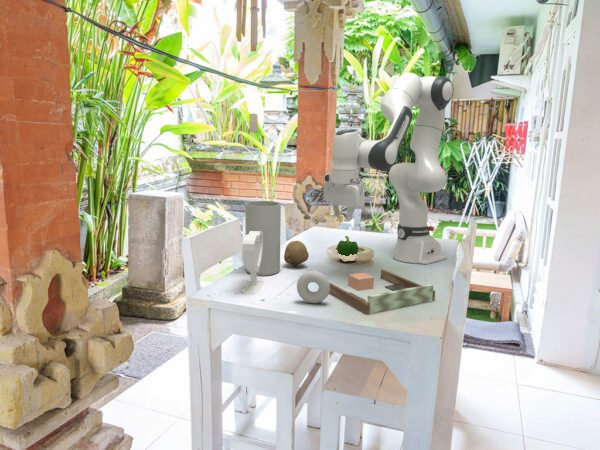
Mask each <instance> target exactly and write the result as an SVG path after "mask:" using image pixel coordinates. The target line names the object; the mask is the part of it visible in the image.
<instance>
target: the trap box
mask: <svg viewBox="0 0 600 450" xmlns="http://www.w3.org/2000/svg"><path fill="white" fill-rule="evenodd" d="M380 279H382V280H384V281H386V282H388V283H391V284H390V285H389V284H388V285H384V288H385V289H388V290H390V291H388V292H382V293H376V294H371V295H367V300H366V299H365V298H364V299H363V298H362V297H360V296H358V295H357V294H355V293H353V292H348V291H347V290H345V289H342V288H341V287H339V286H338V285H335V284H334V283H331V282H330V281H329V284H330V291H329V294H330V295H332V296H333V297H335V298H336V299H338V300H339V301H341V302H344V303H345V304H347V305H349V306H351V307H353V308H354V309H356V310H358V311H360V312H362V313H363V314H364V315H371V314H372V315H373V314H376V313H380V312H381V313H382V312H385V311H390V310H395V309H400V308H403V307H409V305H410V306H414V305H413V304H415V305H418V304H417V303H419V304H423V303H422V302H424V303H427V302H426V301H429V302H431V301H430V300H434V301H436V300H435V299H436V290H434V284H431V283H430V284H429V283H428V284H424V285H421V284H419V283H416V282H415V281H412V280H410V279H406V278H405V277H402V276H400V275H397V274H395V273H392V272H390V271H387V270H385V269H381V270H380ZM329 294H328V295H329Z"/></svg>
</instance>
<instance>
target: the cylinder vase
mask: <svg viewBox="0 0 600 450" xmlns="http://www.w3.org/2000/svg"><path fill="white" fill-rule="evenodd" d="M244 204H245V206H244V207H245V209H244V210H245V211H244V212H245V214H244V215H245V223H244V224H245V236H246V235H247V234H249V232H250V231H262V232H263V252H262V259H261V264H260V269H259V272H257V276H263V277H264V276H273V275H276V274H277V273H279V272H280V270H281V224H282V223H281V221H282V219H281V216H282V215H281V214H282V213H281V212H282V211H281V209H282V204H281V202H278V201H272V200H253V201H248V202H247V201H246V202H245V203H244ZM245 271H246V272H247V273H248V274H250V272H248V270H247V269H246V268H245Z"/></svg>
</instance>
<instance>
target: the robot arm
mask: <svg viewBox="0 0 600 450" xmlns="http://www.w3.org/2000/svg"><path fill="white" fill-rule="evenodd" d="M453 96H454V84H453V82H452V80H451V79H450V78H449V77H446V76H434V75H433V76H431V75H429V76H428V75H426V76H419V75H418V74H416V73H413V72H405V73H403V74H401V75H400V76H399V77H398V78H397V79H395V81H393V83H392V85H391V86H389V88H388V89H387V91H386V92H385V94H384V95H383V97H382V99H381V101H380V104H379V106H380V112H381V114H382V115H383V117H384V118H385V119H386V120H387V121H388V122H390V123H391V125H390V127H389V129H388V132H387V134H386V136H384V138H382V139H379V140H376V139H375V140H374V139H373V140H371V139H370V140H369V139H366V138H364V137H362V136H361V135H360V134H359V133H358V131H357V130H356V129H351V128H350V129H343V130H338V131H337V132H336V133H334V137H333V141H332V146H331V147H332V148H331V157H332V165H331V172H329V173H326V174H325V175H323V182H324V183H323V200H324V201H325V202H327V203H331V205H332V206H331V207H332V210H333V213H334V214H333V215H334V217H336V218H339V217H341V211H340V206H343V207H346V210H347V213H346V214H345V215H344V217H345V218H344V219H345V220H347V221H351V220H353V214H354V212H355V210H360V209H364V207H365V205H366V202H365V201H366V199H365V197H366V195H365V188H364V185H363V183H362V181H360V180H358V173H359V172H358V170H359V168H363V169H371V170H376V171H381V172H386V171H388V181H389V182H390V184H391V186H393V188H394V190H395V192H396V195H397V199H398V204H399V217H398V223H397V228H396V229H397V231H396V233H397V239H396V243H395V249H394V253H393V255H392V259H394V260H396V261H398V262H404V263H410V264H422V265H429V264H433V263H436V262H440V261H444V260H447V255H445V254H443V253H442V247H441V243H440V242H438V240H437V239H435V238H434V237H433V236H432V235H431V233H430V232H434V231H435V226H432V225H428V214H429V207H428V204H427V203H426V202H425V201H424V199H422V196H421V195H422V194H421V193H426V194H427V193H428V194H429V193H437V192H440V191H441V190H442V189H443V188H444V186H445V184H446V180H447V177H446V172H445V170H444V169H443V167H442V166H441V164H440V161H439V159H440V158H439V148H440V143H441V139H442V135H443V131H444V125H445V121H446V120H445V119H446V118H445V117H446V107H447V106H448V105H449V103H450V101H451V100H452V98H453ZM414 107H418V109H419V111H418V114H417V117H416V118H415V119H416V120H415V122H414V126H413V130H412V134H411V137H410V142H409V147H410V149H411V150H412V152H414V154H415V155H414V156H415V162H408V161H407V162H399V163H396V162H397V158H398V155H399V151H400V149H401V146H402V144H403V142H404V139H405V138H406V135H407V133H408V131H409V128H410V126H411V124H412V121H413V112H412V109H413V108H414Z"/></svg>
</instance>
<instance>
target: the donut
mask: <svg viewBox="0 0 600 450" xmlns="http://www.w3.org/2000/svg"><path fill="white" fill-rule="evenodd" d="M329 282H330V281H329V279H328V278H327V276H326V275H325V274H323V273H322V272H320V271H318V270H317V271H316V270H309V271H306V272H304V273H303V274H301V275H300V276H299V278H298V280H297V283H296V290H297V293H298V296H299V297H300V299H302V300H303V301H305V303H309V304H319V303H322V302H324V301H325V300H326V299H327V297H328V296H329V291H330V284H329ZM311 283H315V284H316V285H317V286H318V288H317V291H311V290H310V289H309V284H311Z"/></svg>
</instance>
